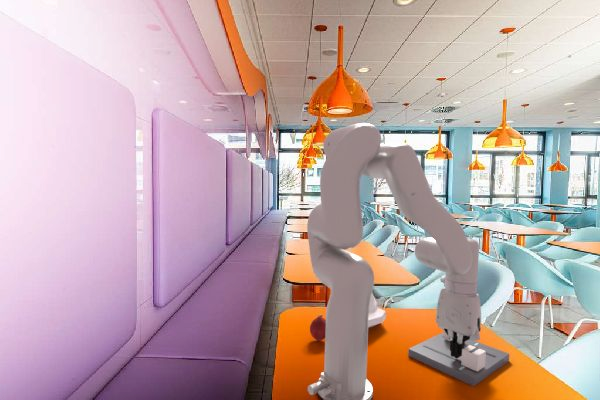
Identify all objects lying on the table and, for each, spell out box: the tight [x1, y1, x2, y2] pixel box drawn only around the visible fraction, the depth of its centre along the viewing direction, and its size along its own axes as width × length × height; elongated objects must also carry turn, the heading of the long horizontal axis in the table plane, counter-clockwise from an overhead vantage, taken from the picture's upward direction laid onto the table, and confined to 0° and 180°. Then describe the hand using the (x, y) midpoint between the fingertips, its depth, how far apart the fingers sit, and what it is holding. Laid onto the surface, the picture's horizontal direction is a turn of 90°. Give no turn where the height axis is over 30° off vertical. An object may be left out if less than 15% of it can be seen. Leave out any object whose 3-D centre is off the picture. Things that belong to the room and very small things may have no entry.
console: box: [408, 331, 510, 387], centre depth 99 cm, size 20×18×2 cm
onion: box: [309, 313, 326, 342], centre depth 107 cm, size 6×6×8 cm
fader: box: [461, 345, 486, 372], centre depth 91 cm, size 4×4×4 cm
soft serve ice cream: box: [368, 292, 387, 329], centre depth 119 cm, size 12×15×14 cm
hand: (456, 355), depth 94 cm, fingers closed
